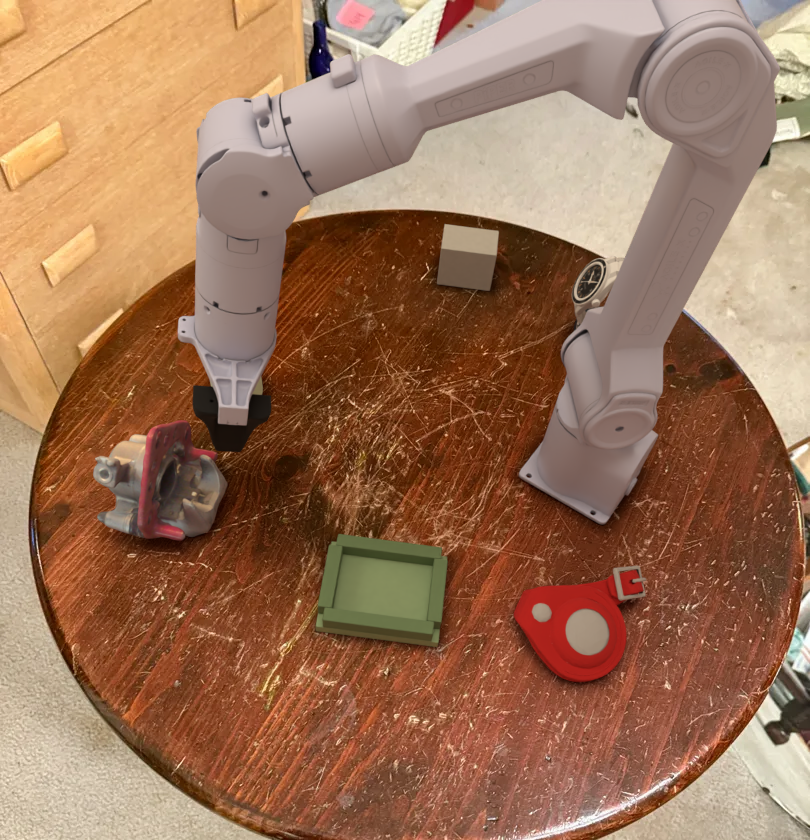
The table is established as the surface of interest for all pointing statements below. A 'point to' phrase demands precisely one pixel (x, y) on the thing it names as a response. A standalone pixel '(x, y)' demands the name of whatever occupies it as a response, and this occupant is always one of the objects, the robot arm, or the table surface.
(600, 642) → the tracker holder
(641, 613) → the table surface
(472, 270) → the grey beige block
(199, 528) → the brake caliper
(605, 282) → the watch
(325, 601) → the green tray
